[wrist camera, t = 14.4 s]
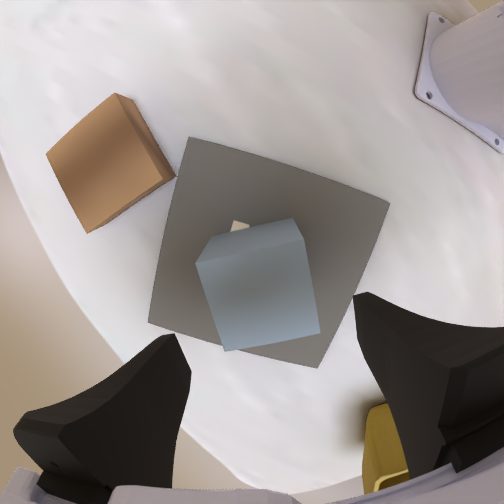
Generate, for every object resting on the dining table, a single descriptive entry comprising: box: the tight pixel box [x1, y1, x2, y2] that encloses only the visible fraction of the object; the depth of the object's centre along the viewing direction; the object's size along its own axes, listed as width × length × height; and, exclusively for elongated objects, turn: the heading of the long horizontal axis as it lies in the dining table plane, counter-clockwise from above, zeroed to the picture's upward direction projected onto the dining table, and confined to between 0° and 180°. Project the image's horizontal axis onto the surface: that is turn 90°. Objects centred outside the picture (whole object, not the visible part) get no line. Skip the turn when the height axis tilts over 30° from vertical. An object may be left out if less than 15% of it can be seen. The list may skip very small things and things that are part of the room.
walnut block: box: [46, 93, 176, 234], centre depth 17 cm, size 6×6×3 cm
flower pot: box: [362, 403, 410, 495], centre depth 19 cm, size 9×9×9 cm
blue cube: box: [195, 218, 320, 352], centre depth 17 cm, size 5×5×5 cm
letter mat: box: [148, 137, 390, 368], centre depth 19 cm, size 13×13×1 cm
